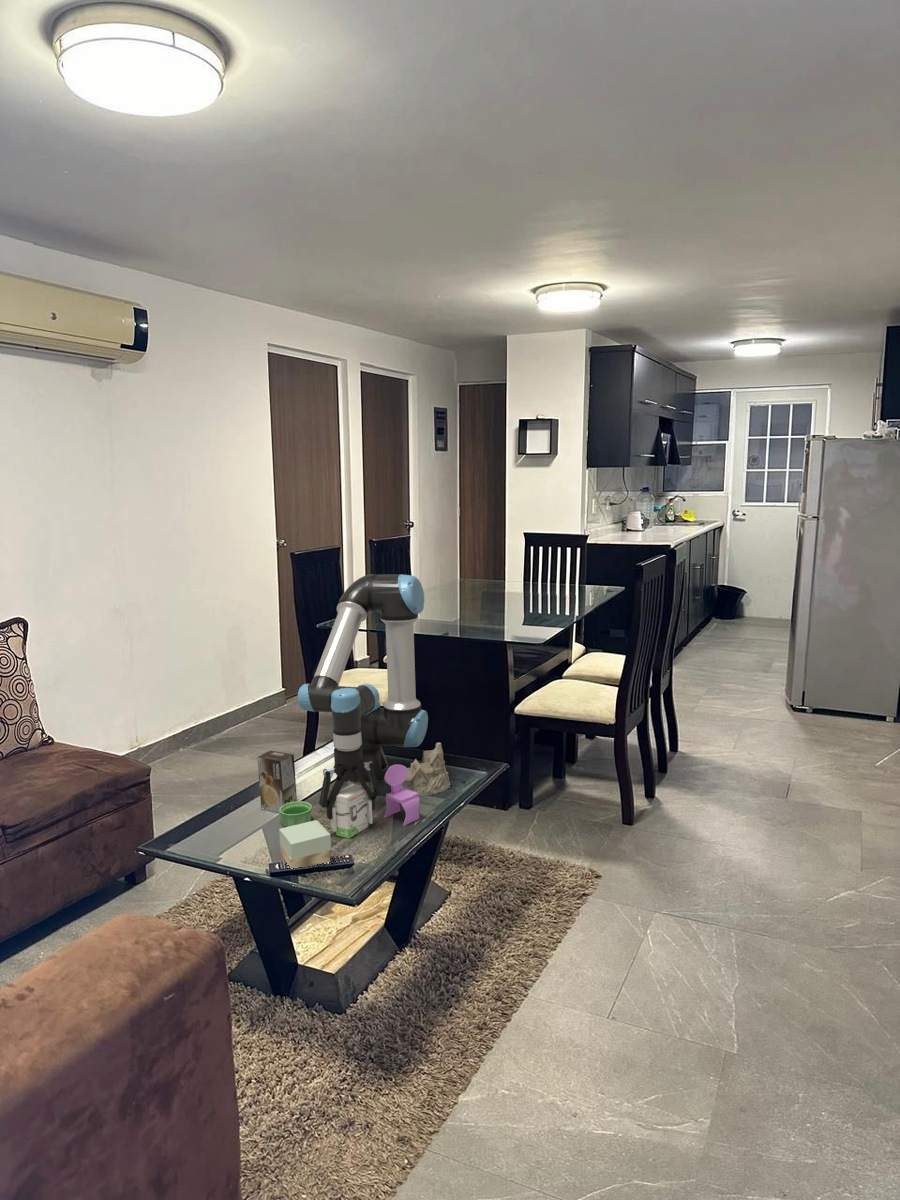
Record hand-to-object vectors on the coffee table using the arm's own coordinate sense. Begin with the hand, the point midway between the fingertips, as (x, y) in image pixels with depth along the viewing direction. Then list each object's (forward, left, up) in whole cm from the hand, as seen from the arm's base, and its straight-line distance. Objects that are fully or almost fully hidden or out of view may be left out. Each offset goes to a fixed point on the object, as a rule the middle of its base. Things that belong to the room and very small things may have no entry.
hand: (351, 825), depth 221 cm
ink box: (0, 0, -2) cm, 2 cm away
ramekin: (+12, -13, -2) cm, 18 cm away
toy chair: (-15, -1, -2) cm, 15 cm away
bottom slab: (+16, +10, -2) cm, 19 cm away
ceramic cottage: (-30, -20, -2) cm, 36 cm away
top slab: (+16, +10, +2) cm, 19 cm away
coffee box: (+14, -25, -2) cm, 29 cm away
